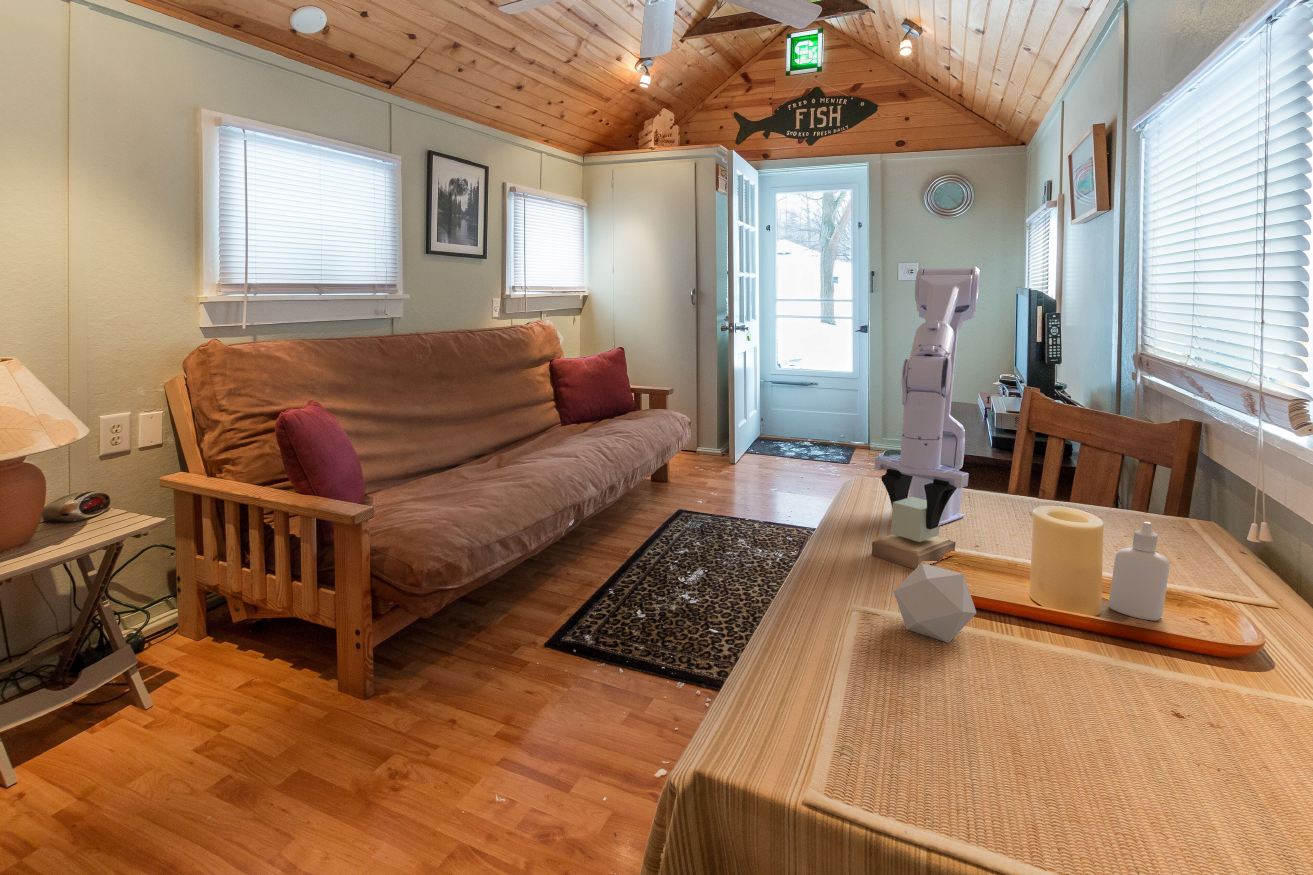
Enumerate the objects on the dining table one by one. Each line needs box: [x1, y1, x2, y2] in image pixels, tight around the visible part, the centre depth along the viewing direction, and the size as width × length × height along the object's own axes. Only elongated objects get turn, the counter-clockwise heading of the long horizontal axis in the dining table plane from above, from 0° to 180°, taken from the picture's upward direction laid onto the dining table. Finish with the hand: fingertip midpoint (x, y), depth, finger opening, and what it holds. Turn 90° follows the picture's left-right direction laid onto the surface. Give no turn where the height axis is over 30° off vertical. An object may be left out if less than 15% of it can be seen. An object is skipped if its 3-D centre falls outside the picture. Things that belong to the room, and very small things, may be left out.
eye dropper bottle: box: [1108, 521, 1171, 622], centre depth 90 cm, size 4×6×12 cm
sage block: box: [890, 496, 940, 542], centre depth 110 cm, size 5×5×5 cm
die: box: [893, 563, 977, 644], centre depth 85 cm, size 8×9×10 cm
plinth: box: [871, 534, 956, 570], centre depth 111 cm, size 10×8×3 cm
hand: (915, 523), depth 110 cm, fingers closed on sage block, 5 cm apart
